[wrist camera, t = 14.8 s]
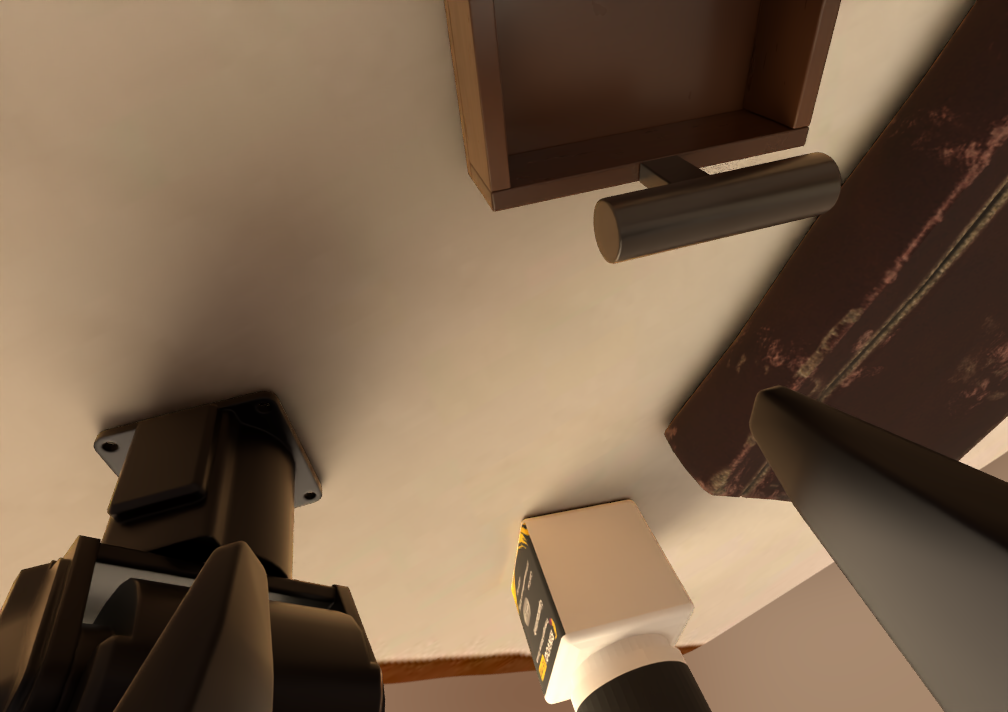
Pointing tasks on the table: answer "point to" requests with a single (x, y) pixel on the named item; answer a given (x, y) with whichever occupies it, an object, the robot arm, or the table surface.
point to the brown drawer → (645, 111)
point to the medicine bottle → (603, 612)
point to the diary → (886, 285)
